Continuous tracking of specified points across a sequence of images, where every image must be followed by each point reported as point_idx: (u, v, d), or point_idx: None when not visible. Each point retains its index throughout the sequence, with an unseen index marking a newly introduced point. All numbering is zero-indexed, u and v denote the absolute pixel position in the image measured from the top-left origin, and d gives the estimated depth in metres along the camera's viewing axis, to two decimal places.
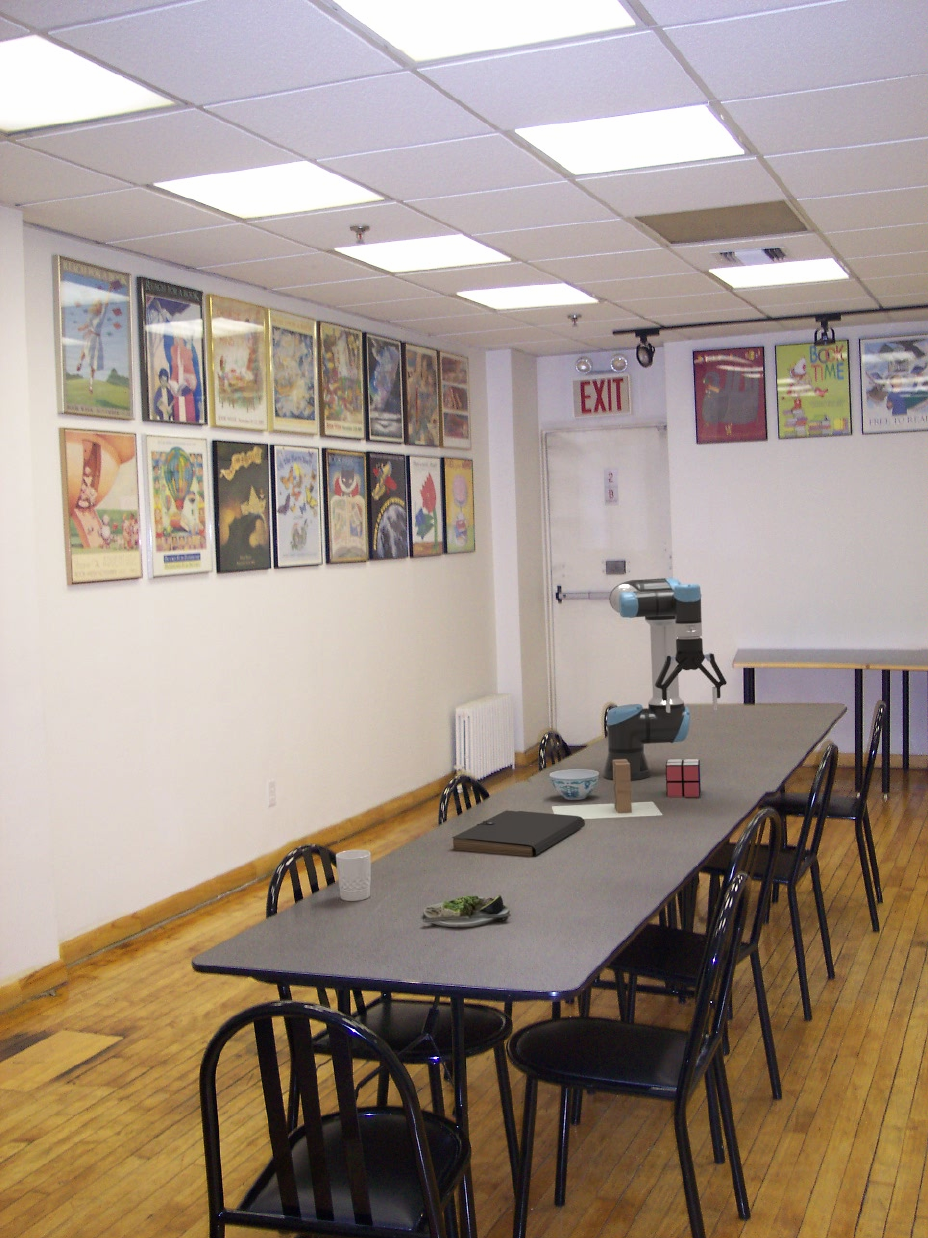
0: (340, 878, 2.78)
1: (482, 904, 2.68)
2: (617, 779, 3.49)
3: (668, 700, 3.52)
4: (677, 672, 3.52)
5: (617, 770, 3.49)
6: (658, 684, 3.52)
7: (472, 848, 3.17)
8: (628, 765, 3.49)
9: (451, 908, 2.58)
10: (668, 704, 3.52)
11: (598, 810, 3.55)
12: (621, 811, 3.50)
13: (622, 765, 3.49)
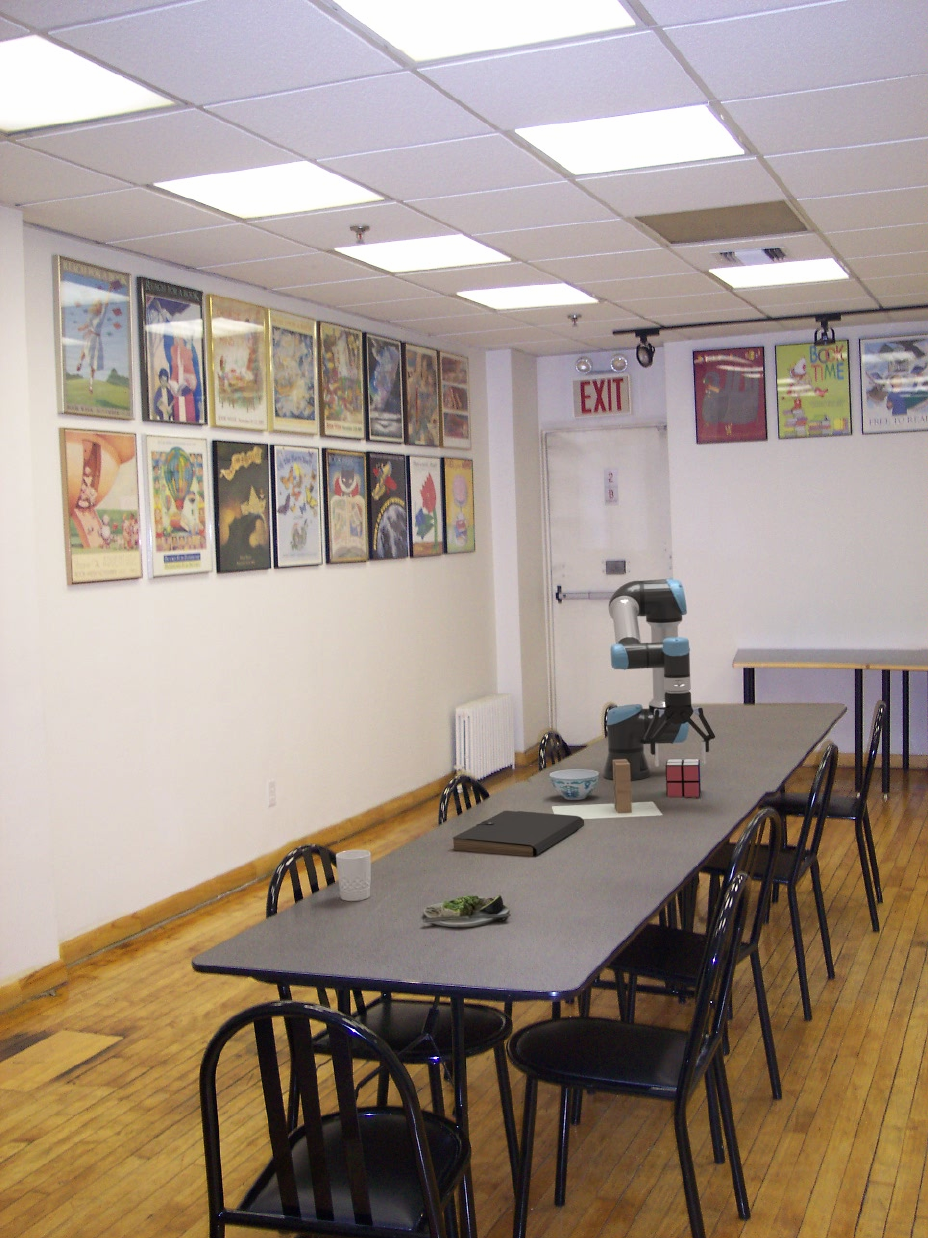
0: (340, 878, 2.78)
1: (482, 904, 2.68)
2: (617, 779, 3.49)
3: (656, 754, 3.52)
4: (665, 726, 3.51)
5: (617, 770, 3.49)
6: (646, 738, 3.51)
7: (472, 848, 3.16)
8: (628, 765, 3.49)
9: (451, 908, 2.58)
10: (656, 758, 3.52)
11: (598, 810, 3.55)
12: (621, 811, 3.50)
13: (622, 765, 3.49)
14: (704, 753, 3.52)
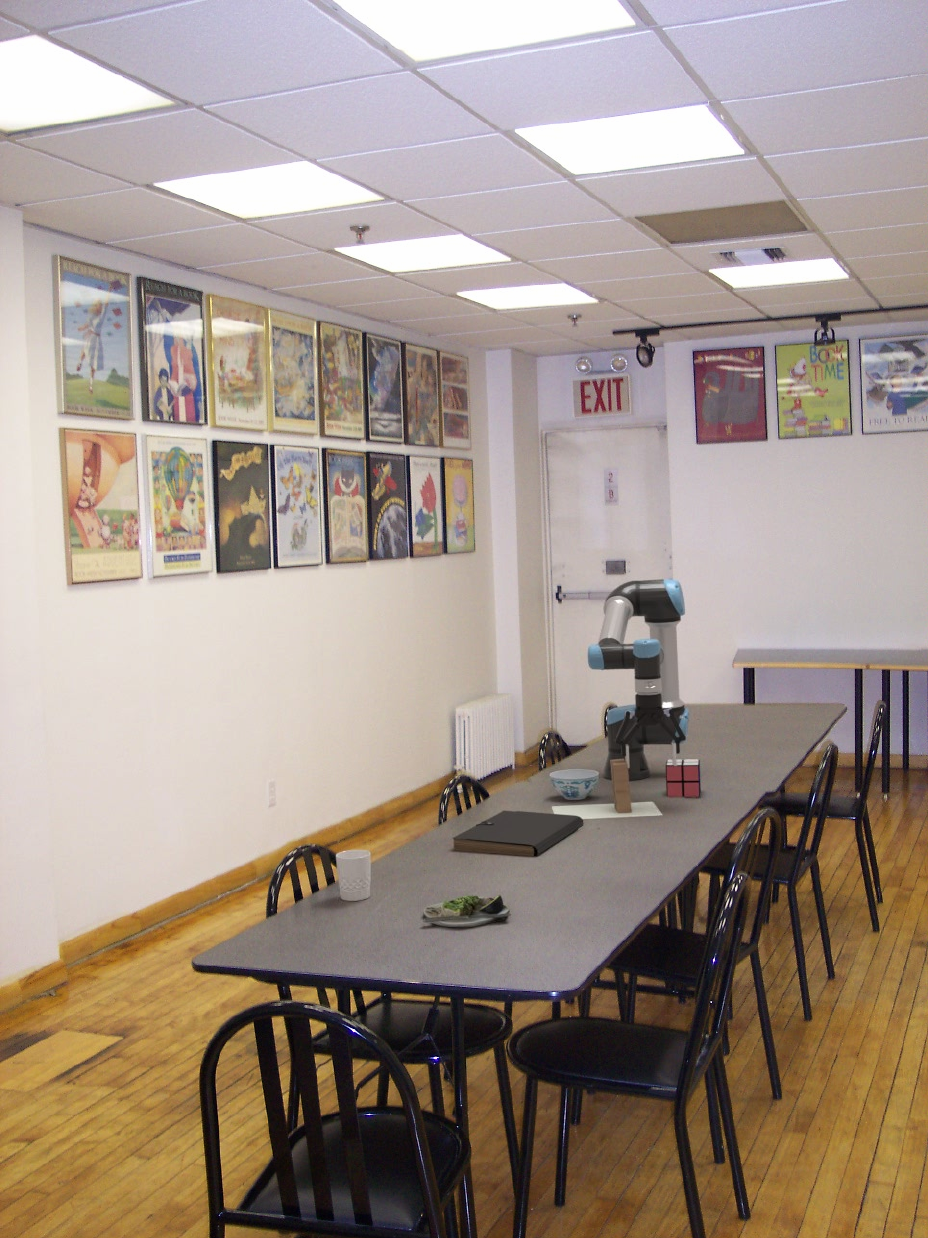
0: (340, 878, 2.78)
1: (482, 904, 2.68)
2: (615, 779, 3.49)
3: (627, 756, 3.52)
4: (636, 728, 3.51)
5: (615, 770, 3.49)
6: (617, 740, 3.51)
7: (473, 848, 3.16)
8: (625, 765, 3.49)
9: (451, 908, 2.58)
10: (627, 760, 3.52)
11: (598, 810, 3.55)
12: (621, 811, 3.50)
13: (620, 765, 3.49)
14: (675, 755, 3.52)
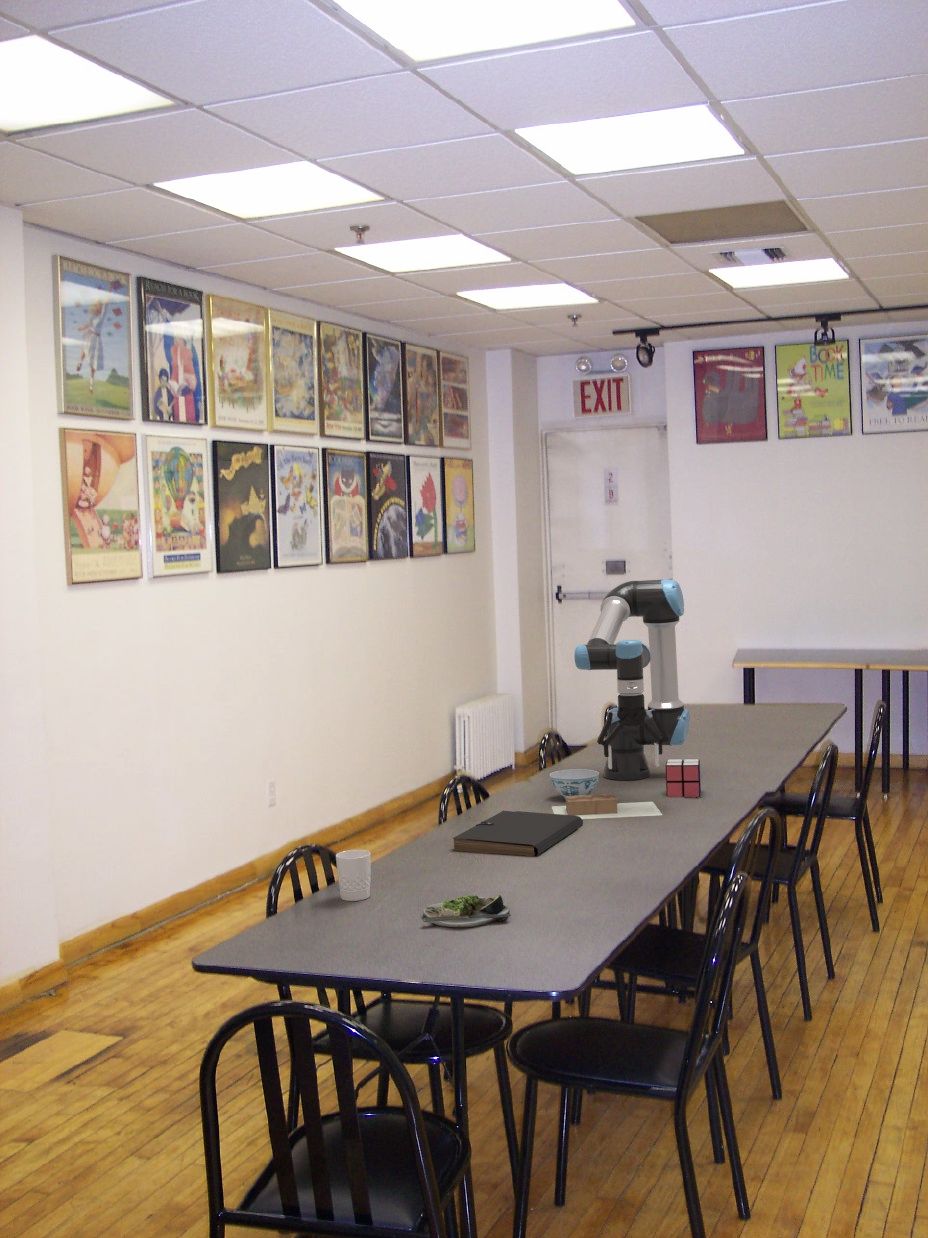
0: (340, 878, 2.78)
1: (482, 904, 2.68)
2: (583, 814, 3.50)
3: (610, 756, 3.52)
4: (619, 728, 3.51)
5: (574, 814, 3.50)
6: (600, 740, 3.51)
7: (473, 848, 3.16)
8: (569, 803, 3.50)
9: (451, 908, 2.58)
10: (610, 760, 3.52)
11: None
12: (615, 809, 3.50)
13: (568, 809, 3.50)
14: (657, 755, 3.52)
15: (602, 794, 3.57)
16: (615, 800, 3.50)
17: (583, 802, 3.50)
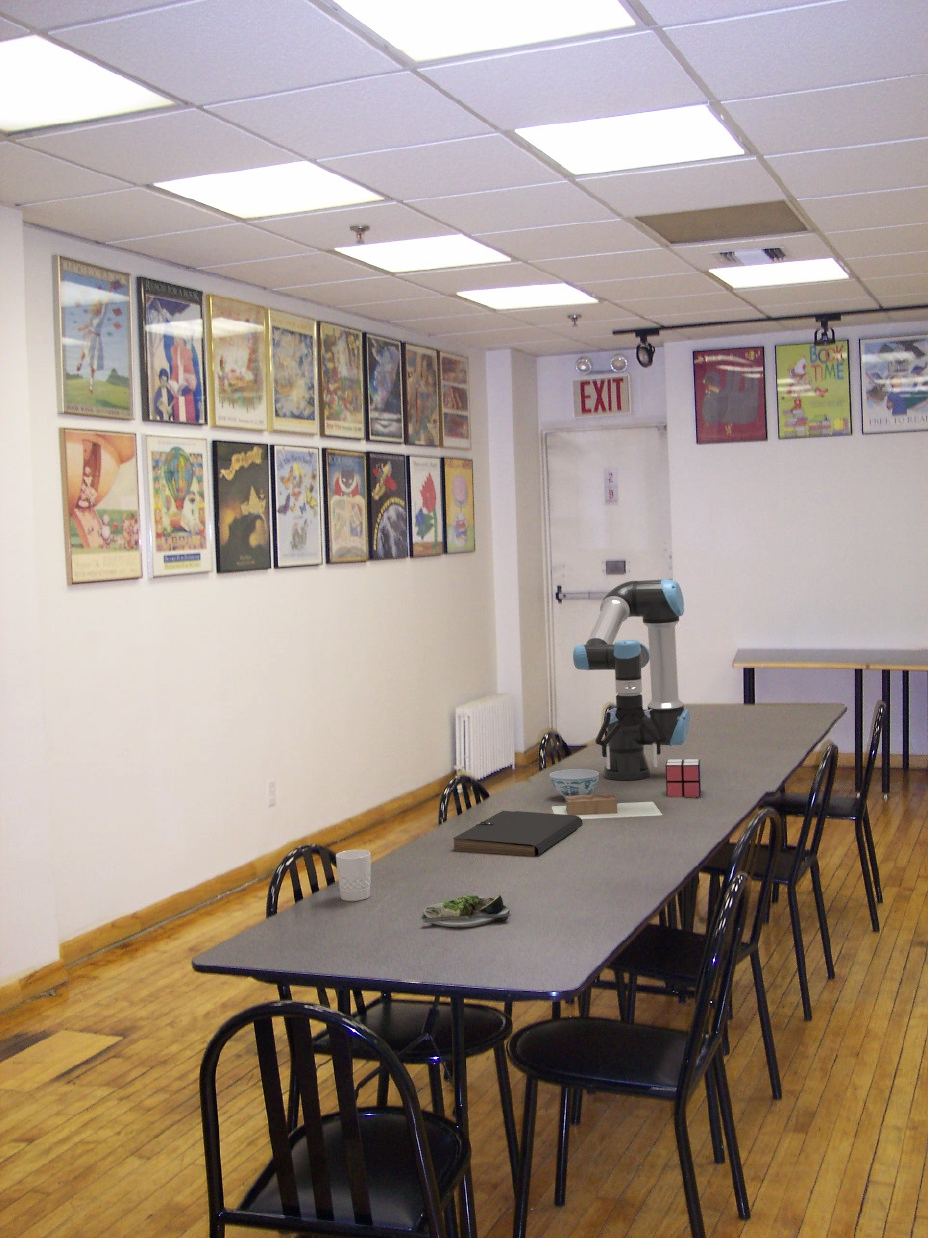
0: (340, 878, 2.78)
1: (482, 904, 2.68)
2: (583, 814, 3.50)
3: (608, 757, 3.52)
4: (617, 729, 3.51)
5: (574, 814, 3.50)
6: (598, 741, 3.51)
7: (473, 849, 3.16)
8: (569, 803, 3.50)
9: (451, 908, 2.58)
10: (608, 761, 3.52)
11: None
12: (615, 809, 3.50)
13: (568, 809, 3.50)
14: (655, 756, 3.52)
15: (602, 794, 3.57)
16: (615, 800, 3.50)
17: (583, 802, 3.50)
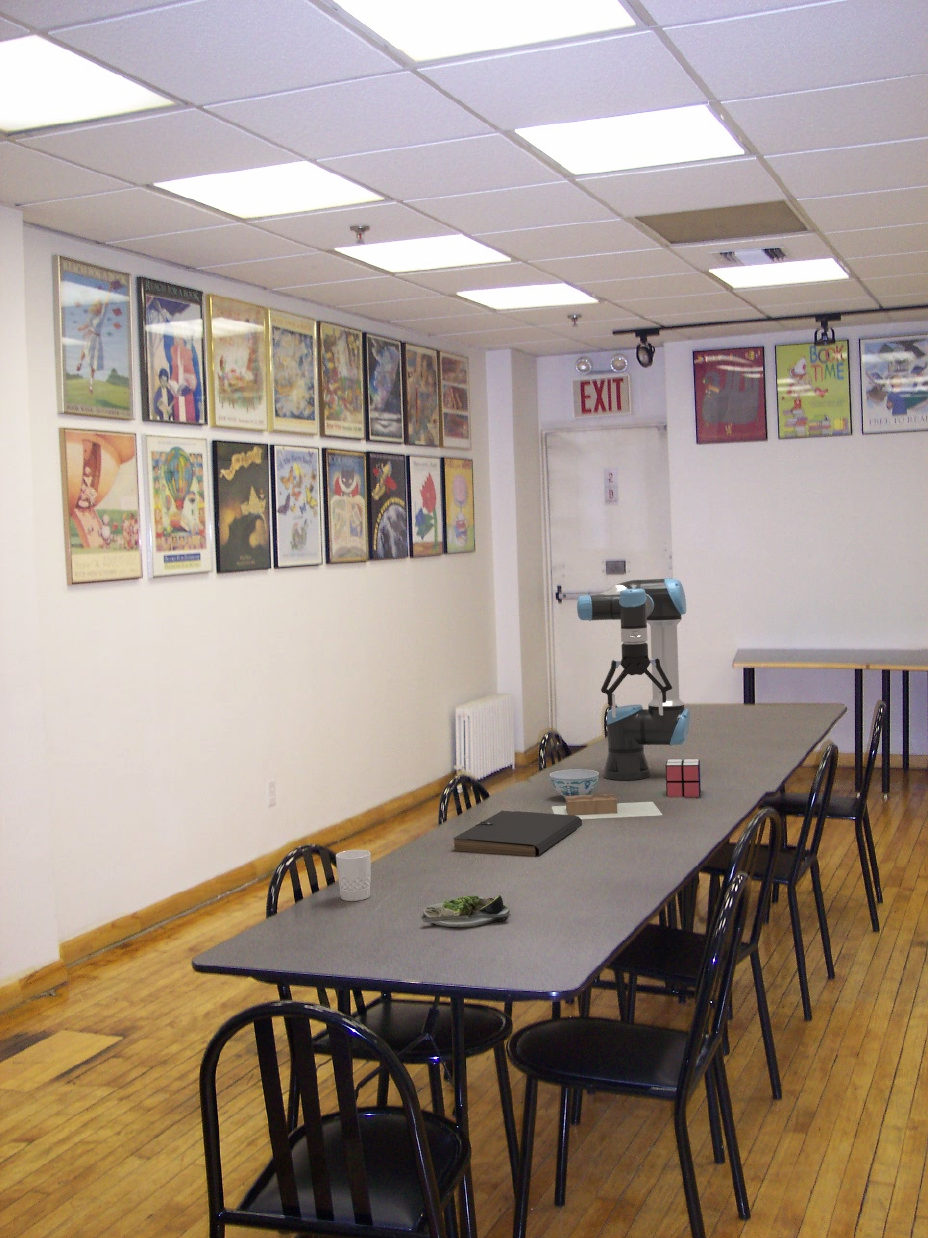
0: (340, 878, 2.78)
1: (482, 904, 2.68)
2: (583, 814, 3.50)
3: (613, 705, 3.52)
4: (622, 677, 3.52)
5: (574, 814, 3.50)
6: (603, 689, 3.52)
7: (474, 849, 3.16)
8: (569, 803, 3.50)
9: (451, 908, 2.58)
10: (613, 709, 3.52)
11: None
12: (615, 809, 3.50)
13: (568, 809, 3.50)
14: (661, 704, 3.52)
15: (602, 794, 3.57)
16: (615, 800, 3.50)
17: (583, 802, 3.50)
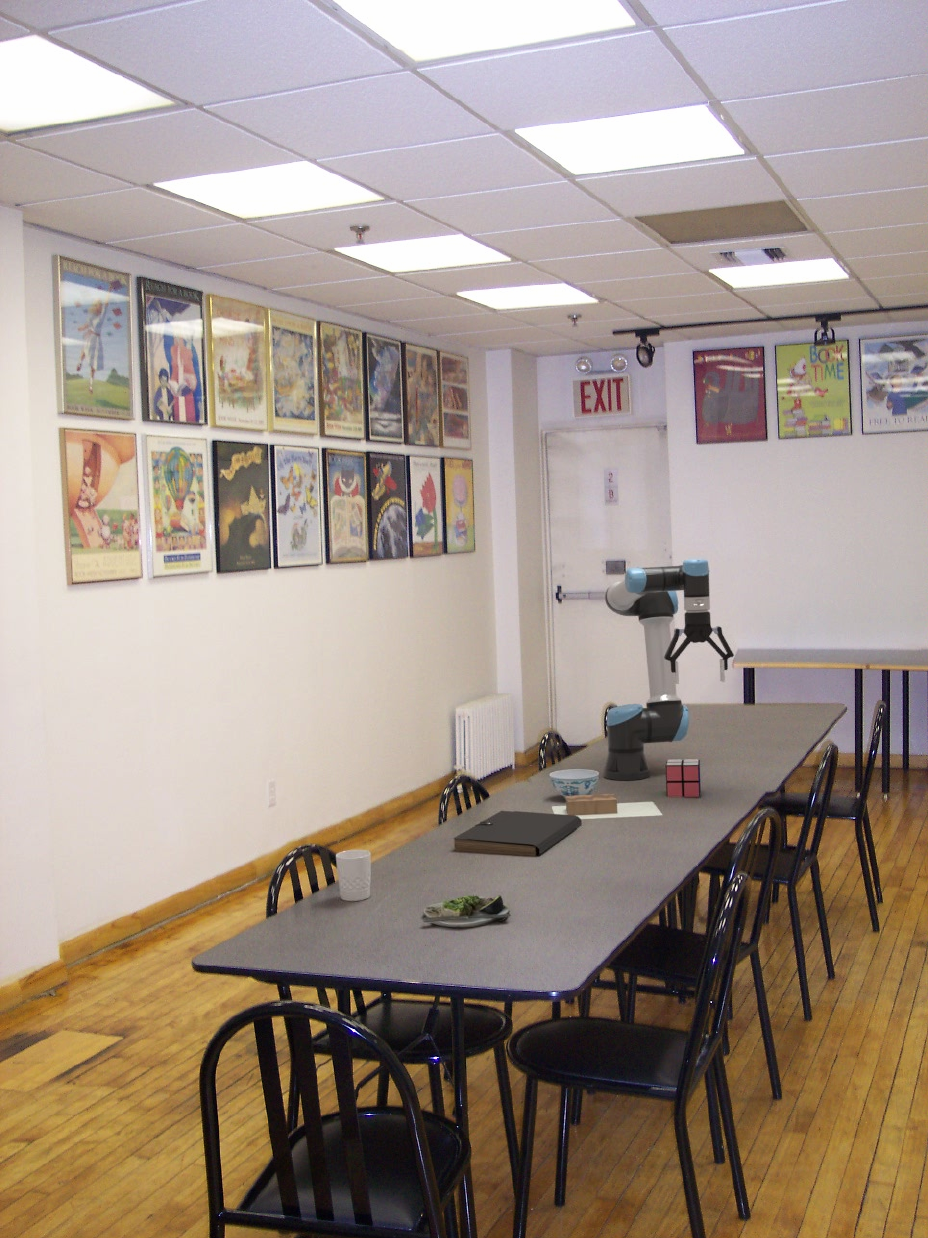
0: (340, 878, 2.78)
1: (482, 904, 2.68)
2: (583, 814, 3.50)
3: (677, 672, 3.63)
4: (685, 644, 3.63)
5: (574, 814, 3.50)
6: (667, 656, 3.63)
7: (474, 849, 3.16)
8: (569, 803, 3.50)
9: (451, 908, 2.58)
10: (677, 676, 3.63)
11: None
12: (615, 809, 3.50)
13: (568, 809, 3.50)
14: (723, 671, 3.63)
15: (602, 794, 3.57)
16: (615, 800, 3.50)
17: (583, 802, 3.50)
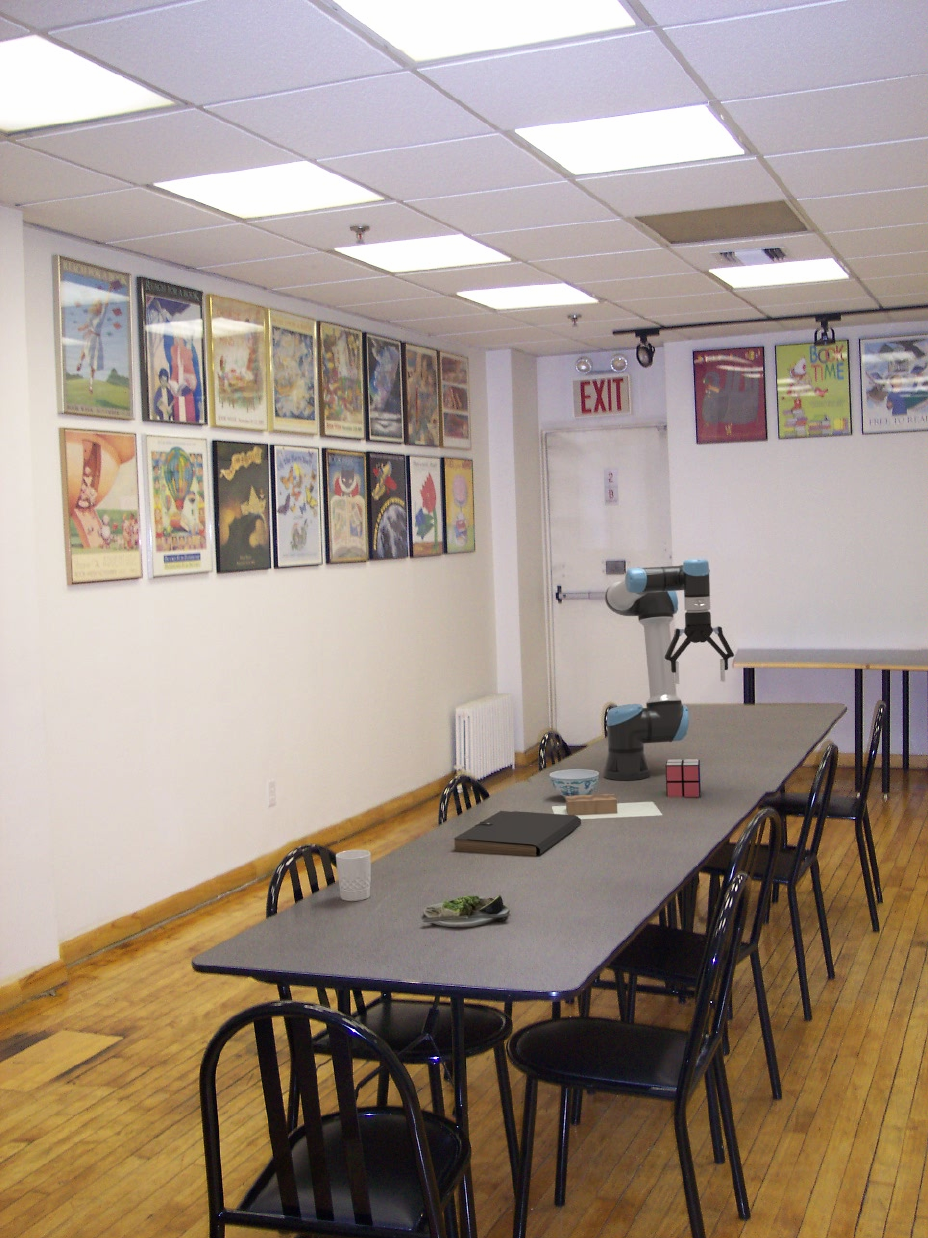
0: (340, 878, 2.78)
1: (483, 904, 2.68)
2: (583, 814, 3.50)
3: (677, 672, 3.63)
4: (686, 644, 3.63)
5: (574, 814, 3.50)
6: (667, 656, 3.63)
7: (474, 849, 3.16)
8: (569, 803, 3.50)
9: (451, 908, 2.58)
10: (677, 676, 3.63)
11: None
12: (615, 809, 3.50)
13: (568, 809, 3.50)
14: (723, 671, 3.63)
15: (602, 794, 3.57)
16: (615, 800, 3.50)
17: (583, 802, 3.50)
